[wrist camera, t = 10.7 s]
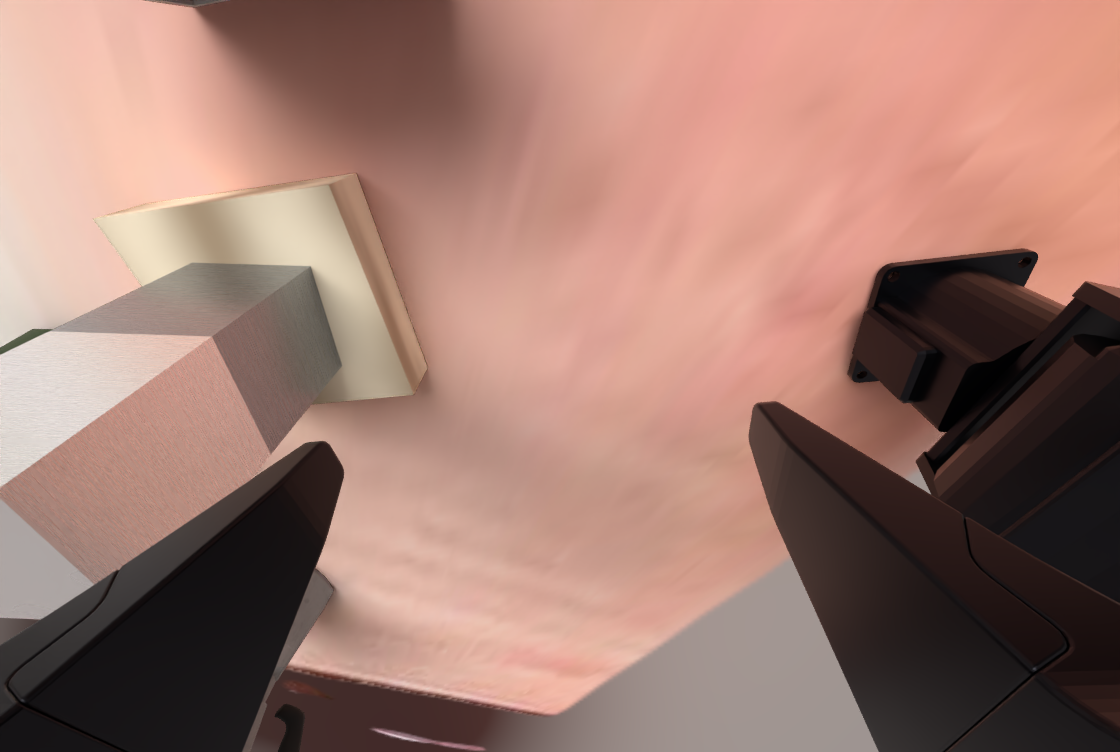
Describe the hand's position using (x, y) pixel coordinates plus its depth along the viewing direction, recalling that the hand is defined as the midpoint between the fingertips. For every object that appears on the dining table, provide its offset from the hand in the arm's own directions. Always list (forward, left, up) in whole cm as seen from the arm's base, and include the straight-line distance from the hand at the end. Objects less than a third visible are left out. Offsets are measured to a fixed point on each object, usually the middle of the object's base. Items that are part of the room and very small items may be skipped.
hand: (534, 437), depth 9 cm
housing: (+13, +1, -10) cm, 17 cm away
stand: (+13, +1, -13) cm, 18 cm away
